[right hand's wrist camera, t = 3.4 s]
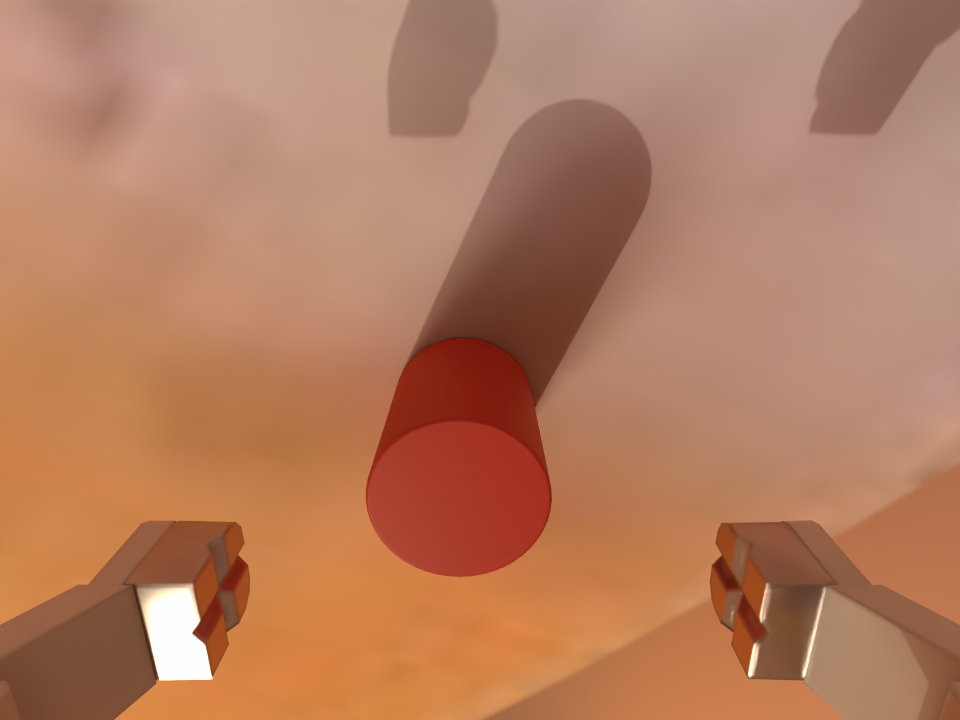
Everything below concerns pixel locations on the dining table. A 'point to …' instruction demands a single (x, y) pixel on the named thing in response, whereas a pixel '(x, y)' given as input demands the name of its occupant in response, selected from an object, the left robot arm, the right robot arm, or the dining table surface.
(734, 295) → the dining table surface
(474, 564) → the can
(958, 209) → the dining table surface
